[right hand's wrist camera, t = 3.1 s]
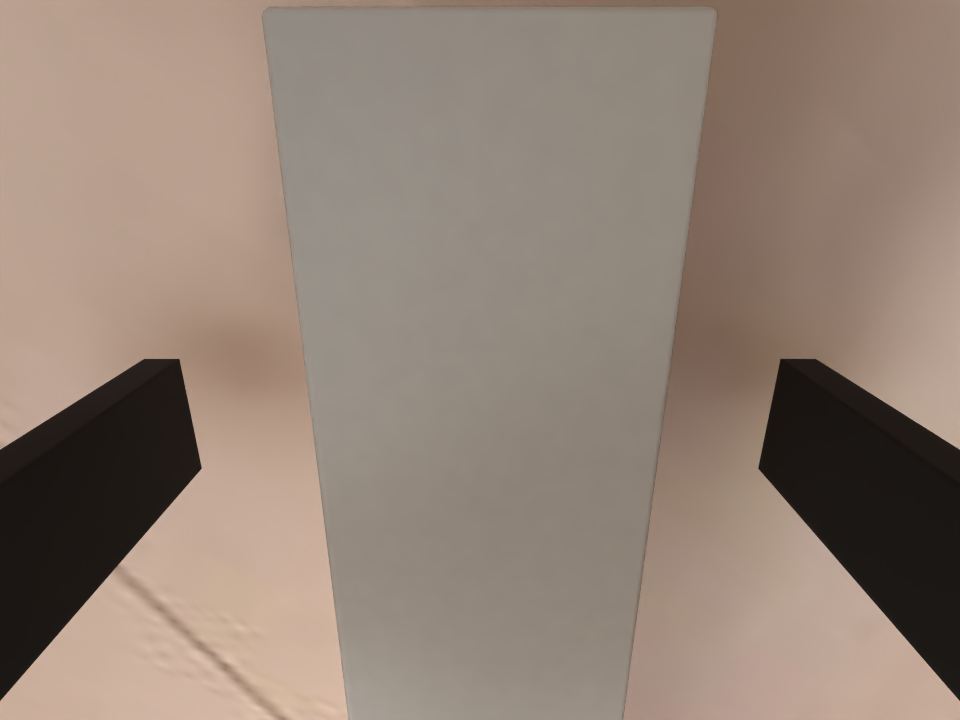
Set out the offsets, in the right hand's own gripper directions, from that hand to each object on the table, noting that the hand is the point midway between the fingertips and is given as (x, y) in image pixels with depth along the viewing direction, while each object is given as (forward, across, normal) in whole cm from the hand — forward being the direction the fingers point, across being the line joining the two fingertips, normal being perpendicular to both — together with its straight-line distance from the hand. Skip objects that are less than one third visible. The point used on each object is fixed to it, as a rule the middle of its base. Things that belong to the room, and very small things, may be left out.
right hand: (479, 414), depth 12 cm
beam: (+4, 0, -20) cm, 20 cm away
